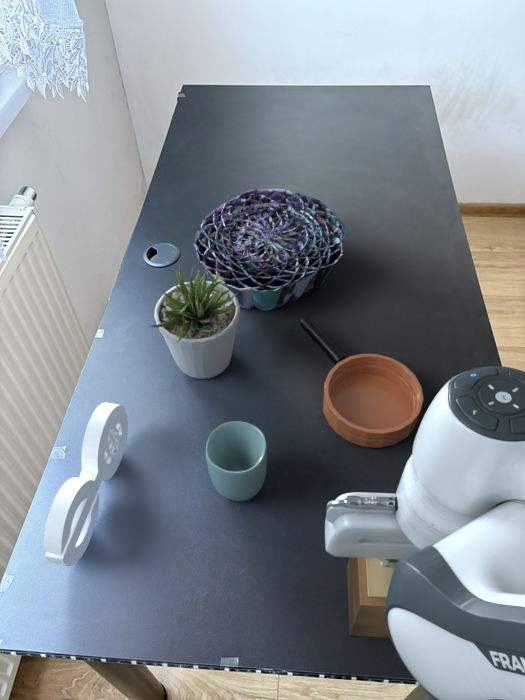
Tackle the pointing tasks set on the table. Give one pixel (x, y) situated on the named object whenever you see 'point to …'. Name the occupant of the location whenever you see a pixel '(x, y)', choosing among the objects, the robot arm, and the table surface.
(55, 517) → the white lobed panel
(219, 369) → the potted plant
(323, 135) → the table surface
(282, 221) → the decorative bowl
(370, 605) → the box
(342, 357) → the pan handle
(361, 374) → the pan
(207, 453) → the cup
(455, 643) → the robot arm
